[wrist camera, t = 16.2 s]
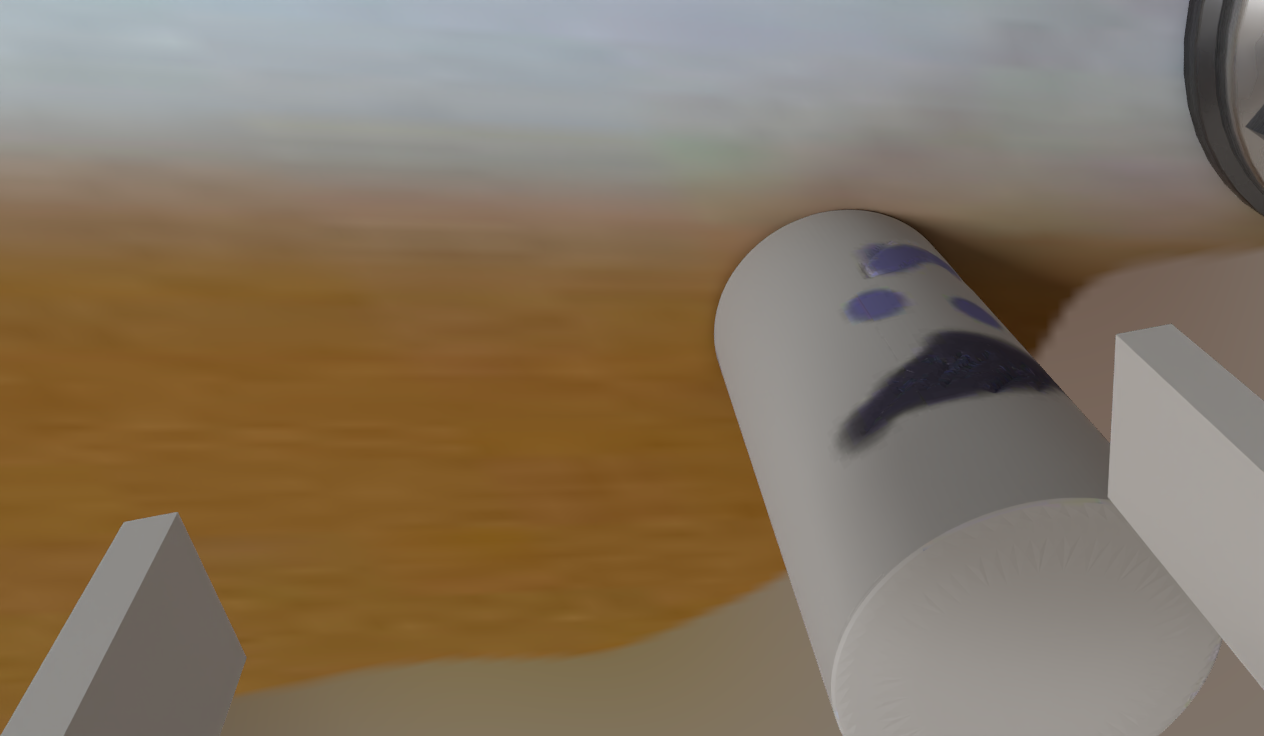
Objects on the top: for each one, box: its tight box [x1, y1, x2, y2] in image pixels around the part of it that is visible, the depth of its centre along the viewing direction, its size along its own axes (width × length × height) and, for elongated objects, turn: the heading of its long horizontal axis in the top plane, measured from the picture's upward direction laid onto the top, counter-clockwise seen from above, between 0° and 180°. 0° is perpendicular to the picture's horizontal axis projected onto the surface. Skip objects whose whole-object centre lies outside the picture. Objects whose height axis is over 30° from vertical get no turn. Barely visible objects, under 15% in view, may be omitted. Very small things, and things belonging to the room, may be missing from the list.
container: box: [714, 210, 1222, 736], centre depth 35 cm, size 10×10×20 cm
